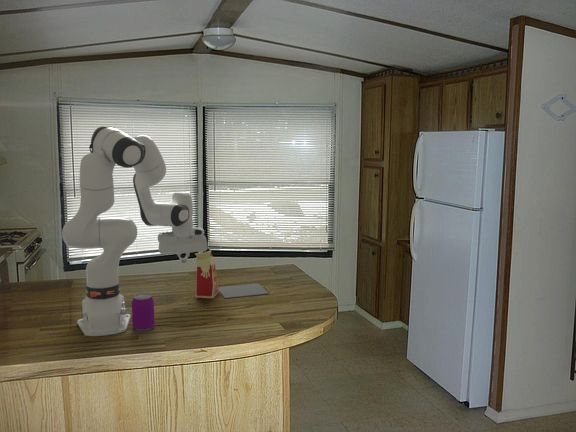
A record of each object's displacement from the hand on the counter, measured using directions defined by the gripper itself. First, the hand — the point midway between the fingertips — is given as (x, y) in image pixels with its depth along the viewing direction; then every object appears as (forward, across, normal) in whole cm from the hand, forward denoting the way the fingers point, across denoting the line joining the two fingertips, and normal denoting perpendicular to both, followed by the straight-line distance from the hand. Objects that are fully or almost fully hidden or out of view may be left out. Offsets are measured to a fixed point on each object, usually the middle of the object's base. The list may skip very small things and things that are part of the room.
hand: (183, 262), depth 223 cm
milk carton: (+15, +10, 0) cm, 18 cm away
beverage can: (+15, -20, -31) cm, 40 cm away
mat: (+15, +26, 0) cm, 30 cm away
